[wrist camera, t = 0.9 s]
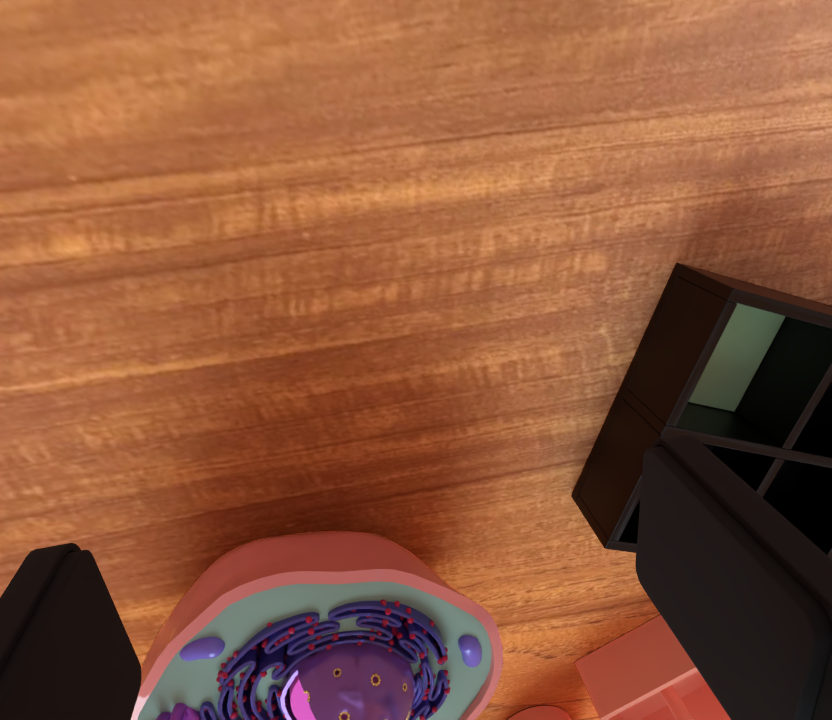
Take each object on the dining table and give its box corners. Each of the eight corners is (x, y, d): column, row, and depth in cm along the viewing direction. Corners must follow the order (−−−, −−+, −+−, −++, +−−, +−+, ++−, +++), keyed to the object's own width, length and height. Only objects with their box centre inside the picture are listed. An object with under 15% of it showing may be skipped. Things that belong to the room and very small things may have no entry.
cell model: (86, 635, 34) (-13, 865, 24) (315, 401, 30) (314, 555, 20) (311, 738, 41) (309, 953, 30) (522, 556, 37) (601, 732, 26)
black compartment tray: (676, 262, 30) (733, 288, 26) (892, 323, 34) (972, 354, 30) (570, 496, 35) (604, 548, 31) (767, 527, 39) (821, 578, 35)
